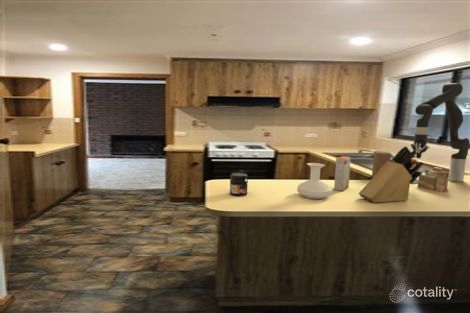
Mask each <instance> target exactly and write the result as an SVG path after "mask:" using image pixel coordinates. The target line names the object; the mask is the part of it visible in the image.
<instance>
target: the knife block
mask: <svg viewBox="0 0 470 313" xmlns="http://www.w3.org/2000/svg"><path fill="white" fill-rule="evenodd" d="M415 157H416V152H415V151H414V150H412V151H411V150H410V149H409V147H408V146H406V145H405V146H404V147H402V148H401V149H400V150H399V151H397V153H396V154H395V155H394V157H392V158H391V160H390V161H388V162H387V163H386V164H385V165H384V166H383V167H382V168H381V169H380V170H379V171H378V172H377V174H376V175H375V176H374V177H373V176H372V178H371V179H370V180H369V181H368V182H367V183H366V185H365V186H364V187H363V188H362V189H361V190H360V191H359V192H358V195H359V196H360V197H361V198H363V199H366V200H367V201H370V202H373V203H374V204H377V203H389V202H398V201H399V202H401V201H402V202H403V201H408V200H409V195H410V194H409V193H410V186H411V183H412V182H414V181H415V180H416V179H417V180H418V179H419V176H420V175H421V174H422V173H423V172H422V171H419V170H420V168H421V167H422V166H424V163H423V162H422V161H420V162H417V161H413V160H412V159H414V158H415ZM413 165H415V166H414V167H413Z"/></svg>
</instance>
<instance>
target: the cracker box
mask: <svg viewBox="0 0 470 313" xmlns="http://www.w3.org/2000/svg"><path fill="white" fill-rule="evenodd" d="M351 158H352V157H351V156H345V155H343V156H340V157H337V158H335V168H334V169H335V170H334V187H333V190H334V191H338V192H344V191H345V190H347V189H348V188H349V186H350V174H351V171H350V170H351Z"/></svg>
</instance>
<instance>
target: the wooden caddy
mask: <svg viewBox="0 0 470 313" xmlns="http://www.w3.org/2000/svg"><path fill="white" fill-rule="evenodd" d="M445 174H446V177H445ZM448 178H449V172H446V171H442V172H437V178H435V179H434V178H430V177H425V176H421V175H420V176H419V177H418V180H419V181H418V184H417V187H419V188H423V189H427V190H431V191H437V192H441V193H443V192H448V185H449V180H448Z"/></svg>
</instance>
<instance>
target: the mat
mask: <svg viewBox="0 0 470 313" xmlns="http://www.w3.org/2000/svg"><path fill="white" fill-rule="evenodd" d="M418 181H419V179H418V178H417V179H416V180H415V181H414V182H412V183H411V184H412V185H416V184H417V185H418ZM411 184H410V185H411Z"/></svg>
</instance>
